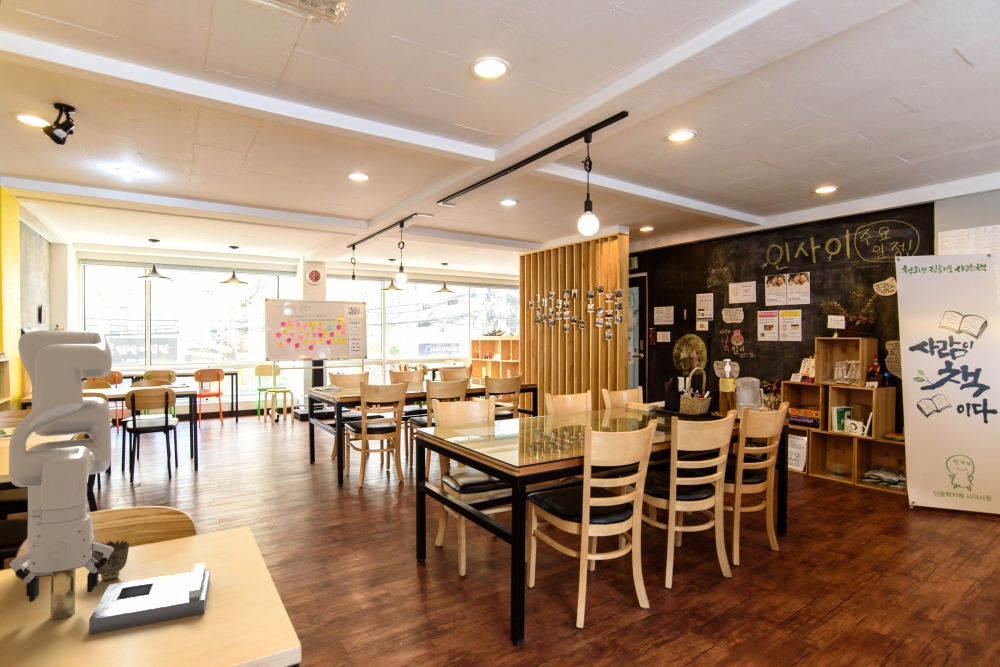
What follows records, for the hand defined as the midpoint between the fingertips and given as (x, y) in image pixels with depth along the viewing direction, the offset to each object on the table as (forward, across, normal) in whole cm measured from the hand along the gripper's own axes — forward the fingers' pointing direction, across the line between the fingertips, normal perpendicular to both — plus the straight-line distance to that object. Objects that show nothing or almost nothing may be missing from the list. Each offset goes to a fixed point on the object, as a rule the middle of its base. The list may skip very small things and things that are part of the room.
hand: (63, 594), depth 112 cm
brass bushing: (+4, 0, 0) cm, 5 cm away
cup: (+5, +5, +16) cm, 17 cm away
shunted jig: (+4, +17, -3) cm, 18 cm away
